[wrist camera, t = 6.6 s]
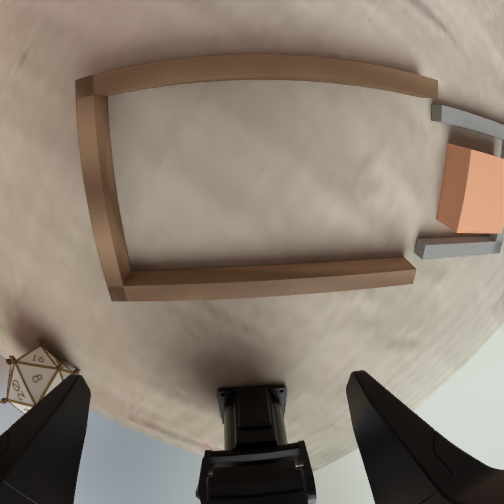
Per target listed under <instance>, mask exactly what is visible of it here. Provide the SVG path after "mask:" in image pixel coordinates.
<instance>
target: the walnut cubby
mask: <svg viewBox="0 0 504 504" xmlns="http://www.w3.org/2000/svg"><path fill="white" fill-rule="evenodd" d="M224 80H299V81H315V82H327V83H337V84H346V85H354V86H362V87H368V88H375V89H381V90H387V91H392V92H397V93H402V94H407V95H412V96H416V97H420V98H438V80H435V79H432V78H428V77H425V76H421V75H417V74H413V73H409V72H405V71H401V70H397V69H392V68H388V67H383V66H378V65H373V64H367V63H361V62H355V61H348V60H341V59H333V58H324V57H314V56H302V55H284V54H229V55H211V56H199V57H188V58H180V59H172V60H164V61H158V62H152V63H146V64H140V65H135V66H130V67H125V68H120V69H116V70H111V71H107V72H103V73H99V74H95V75H92V76H88V77H84V78H81V79H78V80H75V81H76V110H77V125H78V137H79V147H80V156H81V164H82V171H83V178H84V185H85V191H86V197H87V202H88V208H89V213H90V218H91V223H92V228H93V232H94V237H95V241H96V245H97V250H98V254H99V258H100V262H101V265H102V269H103V273H104V276H105V280H106V283H107V287H108V290H109V294H110V297H111V300H112V301H173V300H206V299H230V298H250V297H268V296H284V295H298V294H312V293H324V292H336V291H347V290H358V289H368V288H378V287H387V286H396V285H405V284H413V281H414V277H415V273H416V268H415V267H414V266H413V265H412V264H411V263H410V262H409V261H408V260H407V259H405V258H404V257H394V258H379V259H364V260H348V261H331V262H314V263H296V264H278V265H259V266H238V267H217V268H195V269H171V270H145V271H131V267H130V262H129V258H128V253H127V248H126V243H125V238H124V233H123V228H122V222H121V217H120V211H119V205H118V199H117V192H116V185H115V178H114V170H113V161H112V152H111V142H110V131H109V117H108V98H107V96H110V95H115V94H120V93H125V92H130V91H135V90H141V89H147V88H154V87H161V86H168V85H176V84H185V83H195V82H208V81H224Z"/></svg>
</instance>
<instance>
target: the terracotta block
mask: <svg viewBox="0 0 504 504" xmlns="http://www.w3.org/2000/svg"><path fill="white" fill-rule="evenodd" d="M436 219H437V220H438V221H440V222H441V223H443V224H444V225H446V226H447V227H449V228H450V229H452V230H453V231H455V232H456V233H494V234H502V230H503V227H504V159H503V158H500V157H497V156H494V155H491V154H487V153H484V152H480V151H477V150H473V149H470V148H466V147H462V146H458V145H454V144H450V143H447V152H446V161H445V169H444V177H443V183H442V190H441V196H440V202H439V207H438V212H437V217H436Z"/></svg>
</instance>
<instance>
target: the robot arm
mask: <svg viewBox="0 0 504 504" xmlns="http://www.w3.org/2000/svg"><path fill="white" fill-rule="evenodd" d="M286 394H287V388H286V386H285V385H273V386H260V387H243V388H221V389H218V391H217V396H218V401H219V406H220V411H221V417H222V422H223V424H224V438H225V450H222V451H212V450H205V454H204V457H203V459H202V465H201V472H200V478H199V484H198V487H197V489H196V497H197V498H199V499H200V501H201V504H313V503H316V489H315V482H314V477H313V472H312V468H311V465H310V461H309V457H308V453H307V450H306V446H305V442H304V440H303V441H298V442H297V443H291V444H288V443H287V437H286V431H285V425H284V413H285V404H286ZM346 394H347V399H348V404H349V409H350V415H351V420H352V425H353V430H354V434H355V437H356V441H357V444H358V447H359V450H360V453H361V456H362V460H363V463H364V467H365V470H366V473H367V476H368V480H369V483H370V487H371V490H372V493H373V497H374V501H375V504H504V470H499V469H495V468H492V467H489V466H487V465H485V464H484V463H481V462H480V461H479V460H477V459H475V458H474V457H472V456H471V455H469V454H467V453H466V452H464V451H462V450H461V449H460V448H458V447H456V446H455V445H454V444H452V443H451V442H450V441H448V440H447V439H446V438H444V437H443V436H442V435H441V434H439V433H438V432H437V431H434V429H433V428H432V427H431V426H430V425H429V424H427V423H426V422H425V421H424V420H422V419H421V418H420V417H419V416H418V415H417V414H415V413H414V412H413V411H412V410H411V409H409V408H408V407H407V406H406V405H405V404H403V403H402V402H401V401H400V400H399V399H397V398H396V397H395V396H394V395H393V394H392V393H390V392H389V391H388V390H387V389H386V388H384V387H383V386H382V385H381V384H380V383H379V382H377V381H376V380H375V379H374V378H373V377H371V376H370V375H369V374H368V373H367V372H366V371H364V370H359V371H354V372H352V373H351V375H350V378H349V381H348V384H347V387H346ZM90 397H91V392H90V389H89V387H88V385H87V384H86V382H85V380H84V378H83V377H82V376H81V375H78V374H70V375H69V376H67V377H66V378H65V379H64V380H63V381H62V382H60V383H59V384H58V385H57V386H56V387H55V388H54V389H52V390H51V391H50V392H49V393H48V394H47V395H46V396H44V397H43V398H42V399H41V400H40V401H39V402H38V403H36V404H35V405H34V406H33V407H32V408H31V409H30V410H29V411H27V412H26V413H25V414H24V415H23V416H22V417H21V418H20V419H18V420H17V421H16V422H15V423H14V424H13V425H12V426H11V427H10V428H9V429H8V430H6V431H5V432H4V433H3V434H2V435H1V436H0V504H73V503H74V495H75V489H76V482H77V476H78V470H79V464H80V459H81V454H82V449H83V444H84V439H85V434H86V428H87V420H88V412H89V404H90ZM297 465H298V466H299V467H295V466H297Z"/></svg>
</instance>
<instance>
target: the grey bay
mask: <svg viewBox="0 0 504 504" xmlns="http://www.w3.org/2000/svg"><path fill="white" fill-rule="evenodd" d="M431 120H432V121H436V122H441V123H445V124H449V125H453V126H457V127H461V128H465V129H469V130H472V131H476V132H479V133H483V134H486V135H489V136H493V137H496V138H499V139H502V140H503V150H502V158H503V159H504V125H502V124H500V123H497V122H494V121H492V120H489V119H486V118H483V117H480V116H477V115H474V114H471V113H468V112H465V111H462V110H458V109H455V108H451V107H448V106H444V105H436V104H432V116H431ZM503 238H504V227H503V230H502V234H494V233H489V234H488V236H477V237H448V238H420V239H417V244H416V249H415V254H417V255H418V256H419V257H420V258H421V259H422V260H425V259H438V258H450V257H461V256H472V255H483V254H494V253H500V249H501V246H502V242H503Z"/></svg>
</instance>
